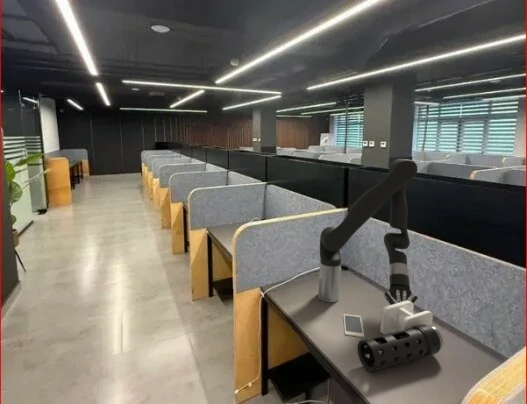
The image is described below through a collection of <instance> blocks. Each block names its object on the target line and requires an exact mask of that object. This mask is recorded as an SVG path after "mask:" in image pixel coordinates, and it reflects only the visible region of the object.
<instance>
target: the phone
mask: <svg viewBox="0 0 527 404" xmlns="http://www.w3.org/2000/svg"><path fill="white" fill-rule="evenodd" d="M343 328H344V335H345V336H349V337H358V338H364V339H365V333H364V326H363V321H362V316H361V315H357V314H356V315H354V314H346V313H343Z"/></svg>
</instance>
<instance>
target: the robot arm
mask: <svg viewBox="0 0 527 404" xmlns="http://www.w3.org/2000/svg"><path fill="white" fill-rule="evenodd" d="M417 172H418V165H417V162H415V161H414V160H412V159H405V158H397V159H395V160H393V161H392V162H390V164H389V168H388V175H387V177H385V178H384V179H383V180H381V182H379V183H378V184H376V185H374V186H373V187H371V188H370V189H368V190H367V191H366V192H364V193H363V194H362V195H361V196H360V197H359V198H358V199H357V200H356V201H355V202H354V203H353V205H352V206H351V207H350V209H349V211H348V213H347V215H346V216H345V218H344V220H342V222H340V224H339V225H338V226H336V227H334V226H328V227H325V228H324V229H323V230H322V232H321V234H320V238H319V257H320V259H319V260H320V263H319V278H318V294H317V296H318V297H317V299H318V300H320V301H323V302H325V303H336V302H338V301H339V299H340V283H341V282H340V281H341V269H342V267H341V266H342V256H341V249H343V247H344V246H345V245H346V244H347V243H348V241H350V239H351V238H352V237H353V235H354V234H356V232H357V231H358V230H359V229H360V228H361V227H362V226H363V225H365V224H366V222H367V221H368V220H369V219H371V217H373V216H374V215H375V214H376V213H377V212H378V211H379V210H380V209H381V208H382V207H383V206H384V205H385V204H386V203H387V202H388V201H389V200H390V211H389V223H388V225H389V227H390V228H393V229H396V230H399V231H400V232H386V233H385V235H384V236H383V243H384V247H385V250H386V251H387V255H388V263H389V264H388V265H389V267H388V268H389V269H388V277H389V279H388V280H389V289H388V291H386V292H384V294H383V298H384V299H385V300H386V301H387V303H389V305H393V304H396V303H400V302H403V301H408V299H410V300H409V301H410V302H412V303H413V304H414V303H415V302H416V301H417V300H418V298H419V297H418V296H417V295H414V294H413V292H412V290H411V285H410V284H411V283H410V273H409V268H408V259H407V258H408V257H407V254H406V253H405V252H403V251H400V250H407V249H408V248H409V247H410V245H411V241H410V240H411V239H410V237H409V234H408V233H409V232H408V214H409V213H408V212H409V211H408V202H407V198H406V197H407V196H406V185H407V184H408V183H409V182H410V181H412V180H413V179H414V178H415V177H416V175H417Z"/></svg>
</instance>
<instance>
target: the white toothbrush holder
mask: <svg viewBox="0 0 527 404" xmlns="http://www.w3.org/2000/svg"><path fill="white" fill-rule="evenodd" d="M410 301H411V300H406V301H403V302H400V303H396V302H395V303H396V304H393V305H390V304H389V305H386V306H384V307H383V308H382V310H381V317H380V318H381V319H380V328H379V331H380V332H381V334H382V335H385V334H389V333H393V332H397V331H401V330H406V329H410V328H412V327H414V326H418V325H422V324H425V325H431V326H433V319H434V314H433V312H431V311H429V310H424V311H421V312H417V313H415V311H414V306H415V305H414V303H412V302H410Z"/></svg>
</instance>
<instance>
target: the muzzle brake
mask: <svg viewBox="0 0 527 404" xmlns="http://www.w3.org/2000/svg"><path fill="white" fill-rule="evenodd" d="M443 346H444V338H443V336H442V333H441V332H440V330H438V329H437V328H436V327H435V326H433V325H432V326H431V325H425V324H422V325H418V326H414V327H412V328H410V329H406V330H401V331H397V332H393V333H389V334H382V335H378V336H373V337H369V338H364V339H361V340H359V341H358V343H357V348H356V349H357V355H358V358H359V361H360V362H361V364H362V366H363V367H364V369H365V370H366V371H367V372H374V371H377V370H381V369H384V368H387V367H391V366H395V365H399V364H402V363H405V362H408V361H413V360H415V359H420V358H422V357H429V356H433V355H436V354H438V353H440V351H441V350H442V349H443ZM380 352H381V353H380ZM366 355H368V356H366Z"/></svg>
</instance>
